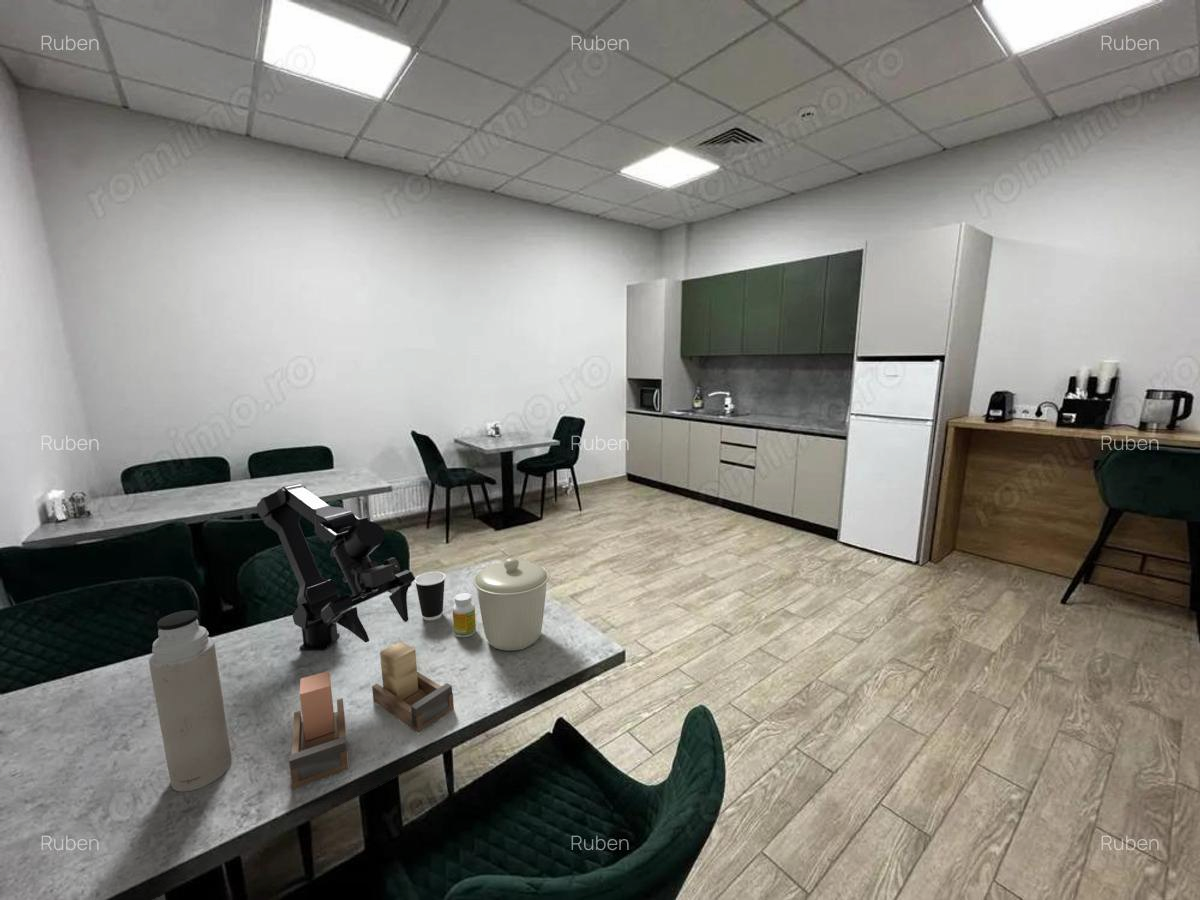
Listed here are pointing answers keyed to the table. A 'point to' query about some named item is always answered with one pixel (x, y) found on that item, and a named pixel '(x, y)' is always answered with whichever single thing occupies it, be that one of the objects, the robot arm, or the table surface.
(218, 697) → the thermos bottle
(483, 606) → the canister
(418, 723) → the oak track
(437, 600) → the dixie cup
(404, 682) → the oak slider
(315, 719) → the terracotta slider
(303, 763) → the dark wooden block holder
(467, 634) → the supplement bottle
